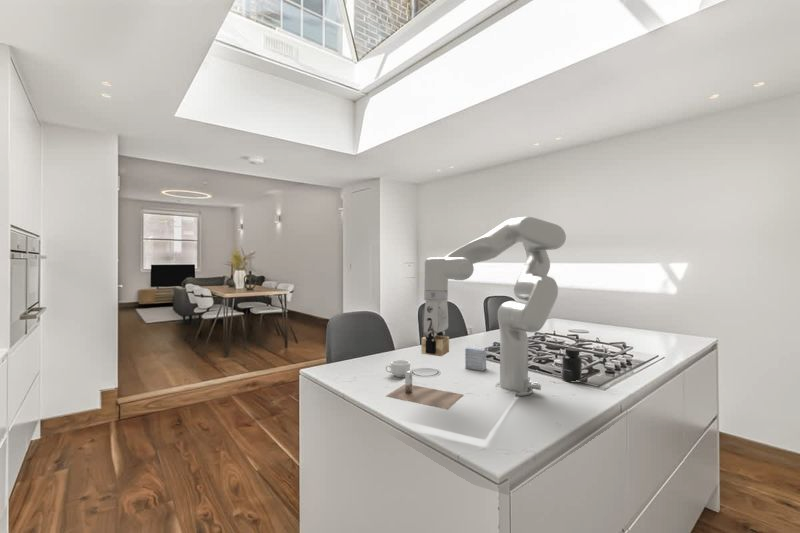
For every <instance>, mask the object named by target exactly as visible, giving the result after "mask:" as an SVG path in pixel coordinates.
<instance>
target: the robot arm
mask: <svg viewBox="0 0 800 533" xmlns="http://www.w3.org/2000/svg"><path fill="white" fill-rule="evenodd" d="M566 238H567V235H566V232H565V230H564V229H563V227H562V226H560V225H558V224H557V223H556V224H555V223H553V222H549V221H546V220H544V219H540V218H537V217H533V216H521V217H520V216H519V217H512V218H509V219H507V220H505V221H503V222H502V223H500V224H499V225H497V226H496V227H494V228H493V229H491V230H489V231H488V232H487V233H486V234H484V235H482V236H480V237H478V238H476V239H474V240H472V241H470V242H468V243H466V244H464V245H462V246H460V247H458V248H456V249H455V250H453V251H451V252H450V253H448V254H447V255H446V256H444V257H428V258H426V259H425V261H424V293H423V294H424V295H423V296H424V299H423V300H424V301H425V302H424V303H425V304H424V314H423V315H424V317H423V318H424V319H423V333H424V337H426V338H425V340H426V353H430V354H435V353H436V341H435V336H436V335H439V336H446V330H448V328H449V307H448V301H449V300H448V298H449V297H448V295H449V294H448V293H449V292H448V290H449V288H448V287H449V284H448V283H449V280H454V281H465V280H467V279H469V278H471V276H473V273H474V264H477V263H481V262H487V261H490V260H492V259H495V258H497V257H498V256H500V255H501V254H502V253H504V252H505V251H507V250H508V249H510V248H511V247H513V246H514V245H515V244H517V243H522V245H523V247H524V250H525V254H526V261H525V264H524V266H523V268H522V270H521V272H520V274H519V275H518V277H517V280H516V282H515V285H514V287H513V294H514V296H515V297H516V298H517V299H519V300H522V301H518V300H508V301H505V302H502V303H501V305H500V306H499V307H498V310H497V322H498V326H499V327H498V328H499V340H500V342H499V343H500V344H499V347H500V348H499V355H500V356H499V381H498V382H497V383H496V384H495V388H502V389H504V390H507V391H516V393H515V395H514V396H517V397H524V396H528V395H531V394H533V390H536V391H537V390H538V391H541V389H542V384H540V383H539V382H538V381H537V382H535V381H532V380H531V377H529V337H528V333H536V332H538V331H540V330H542V328H543V327H544V325H545V324H546V322H547V320H548V318H549V316H550V313H551V311H552V309H553V308H554V305H555V303H556V301H557V298H558V294H559V288H558V287H559V286H558V283H557V282H556V280H555V279H554V278H553V277H551V276H548V275H549V271H550V268H551V261H550V257H549V254H548V252H547V251H549V250H551V251H552V250H553V251H554V250H557V249H558V250H559V249H560V248H562V247H563V246H564V245H565V242H566ZM523 301H525V302H523ZM432 335H433V336H432Z"/></svg>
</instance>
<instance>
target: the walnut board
mask: <svg viewBox="0 0 800 533" xmlns="http://www.w3.org/2000/svg"><path fill="white" fill-rule="evenodd" d="M463 396H464V394H462V393H458V392H451V391H445V390H441V389H435V388H431V387H425V386H419V385H416V384H415V385H414V384H412V393H405V384H403V385H401V386H400V387H398V388H397V389H395V390H393V391H392V392H390V393H388V394H386V395H385V397H386V398H387V397H388V398H391V399H397V400H401V401H406V402H411V403H415V404H419V405H423V406H424V405H425V406H430V407H435V408H438V409H444V410H450V408H451V407H452V406H454V405H455V404H456V403H457V402H458V401H459V400H460V399H461V398H462V397H463Z"/></svg>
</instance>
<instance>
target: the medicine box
mask: <svg viewBox="0 0 800 533" xmlns="http://www.w3.org/2000/svg"><path fill="white" fill-rule="evenodd" d="M464 350H465V351H464V352H465V353H464V354H465V357H464V359H465V369H469V370H476V371H480V372H483V371H484V370H486V369H487V348H483V347H477V346H475V347H474V346H468V347H466V348H465V349H464Z"/></svg>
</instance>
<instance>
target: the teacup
mask: <svg viewBox="0 0 800 533" xmlns="http://www.w3.org/2000/svg"><path fill="white" fill-rule="evenodd" d="M387 368H390V370H388V369H387ZM410 370H411V361H409V360H407V359H395V360H392V361H390V365H386V366H385V371H386V372H388V373H391V374H392V375H393V376H395V377H397V378H405V373H406V372H407V371H410Z"/></svg>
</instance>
